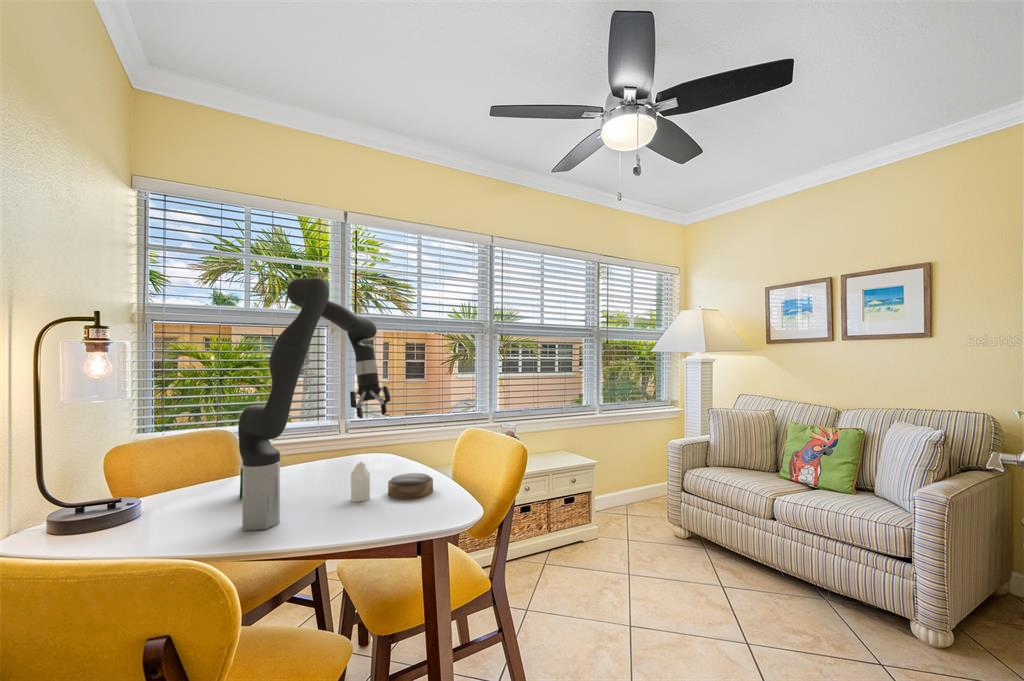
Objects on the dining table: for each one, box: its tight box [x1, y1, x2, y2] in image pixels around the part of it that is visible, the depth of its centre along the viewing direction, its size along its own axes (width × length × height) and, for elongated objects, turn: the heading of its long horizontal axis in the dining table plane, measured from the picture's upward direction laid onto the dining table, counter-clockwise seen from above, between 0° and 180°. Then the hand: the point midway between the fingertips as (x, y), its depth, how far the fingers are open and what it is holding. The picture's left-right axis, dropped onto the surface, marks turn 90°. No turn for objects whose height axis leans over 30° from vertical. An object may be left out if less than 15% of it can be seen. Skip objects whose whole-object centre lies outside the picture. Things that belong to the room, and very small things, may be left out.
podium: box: [387, 472, 434, 500], centre depth 156 cm, size 15×15×5 cm
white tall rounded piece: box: [350, 461, 371, 503], centre depth 150 cm, size 6×12×6 cm
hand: (372, 416), depth 170 cm, fingers open, 8 cm apart
